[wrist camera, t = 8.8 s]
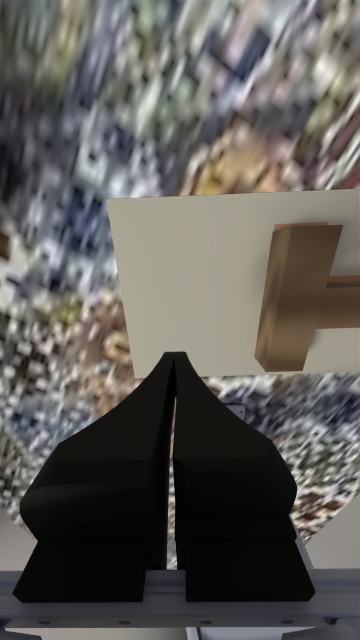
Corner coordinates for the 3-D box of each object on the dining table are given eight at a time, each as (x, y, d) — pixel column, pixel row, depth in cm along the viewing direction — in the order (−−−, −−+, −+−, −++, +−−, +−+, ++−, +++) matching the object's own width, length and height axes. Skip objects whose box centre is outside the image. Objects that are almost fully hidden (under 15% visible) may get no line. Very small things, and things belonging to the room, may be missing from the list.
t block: (366, 353, 21) (396, 368, 18) (254, 356, 21) (265, 372, 18) (421, 225, 16) (473, 219, 13) (272, 231, 16) (292, 226, 13)
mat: (389, 368, 22) (394, 371, 22) (136, 375, 23) (135, 378, 22) (482, 185, 15) (492, 183, 15) (108, 201, 16) (106, 199, 15)
